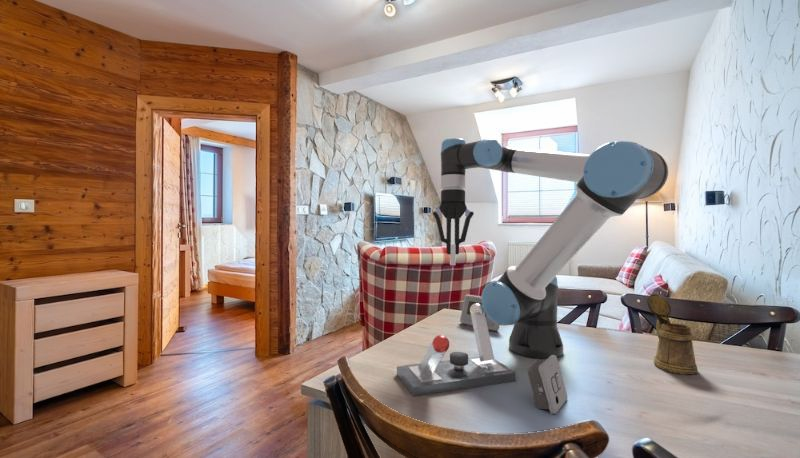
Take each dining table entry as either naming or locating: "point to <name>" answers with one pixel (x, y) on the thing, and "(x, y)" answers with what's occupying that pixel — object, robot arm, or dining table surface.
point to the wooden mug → (672, 340)
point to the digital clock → (466, 313)
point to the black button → (459, 358)
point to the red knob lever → (434, 355)
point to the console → (454, 376)
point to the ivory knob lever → (481, 333)
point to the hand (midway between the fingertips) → (452, 264)
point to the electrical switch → (547, 384)
